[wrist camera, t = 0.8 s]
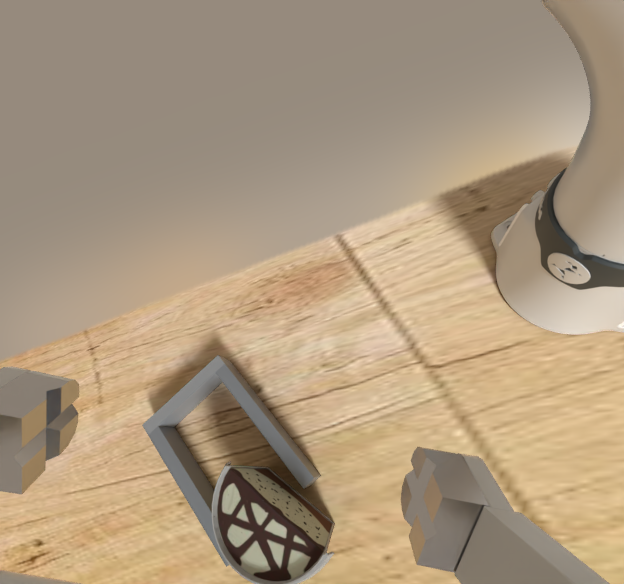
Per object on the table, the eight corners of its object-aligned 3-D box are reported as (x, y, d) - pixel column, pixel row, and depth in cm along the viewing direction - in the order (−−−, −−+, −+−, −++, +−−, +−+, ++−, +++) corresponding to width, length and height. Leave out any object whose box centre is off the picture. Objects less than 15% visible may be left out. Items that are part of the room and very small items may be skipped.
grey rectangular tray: (229, 360, 49) (217, 355, 46) (320, 475, 41) (314, 477, 38) (159, 426, 48) (142, 425, 45) (240, 557, 40) (226, 566, 37)
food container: (226, 507, 42) (179, 523, 33) (258, 458, 44) (221, 461, 35) (313, 590, 38) (285, 635, 29) (346, 533, 39) (329, 559, 30)
